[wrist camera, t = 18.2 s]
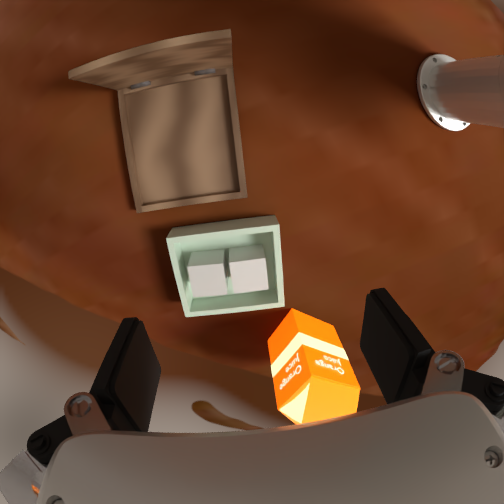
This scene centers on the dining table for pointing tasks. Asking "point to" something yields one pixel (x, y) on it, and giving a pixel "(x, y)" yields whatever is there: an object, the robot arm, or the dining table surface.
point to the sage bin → (227, 237)
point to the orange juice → (311, 370)
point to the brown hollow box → (176, 119)
